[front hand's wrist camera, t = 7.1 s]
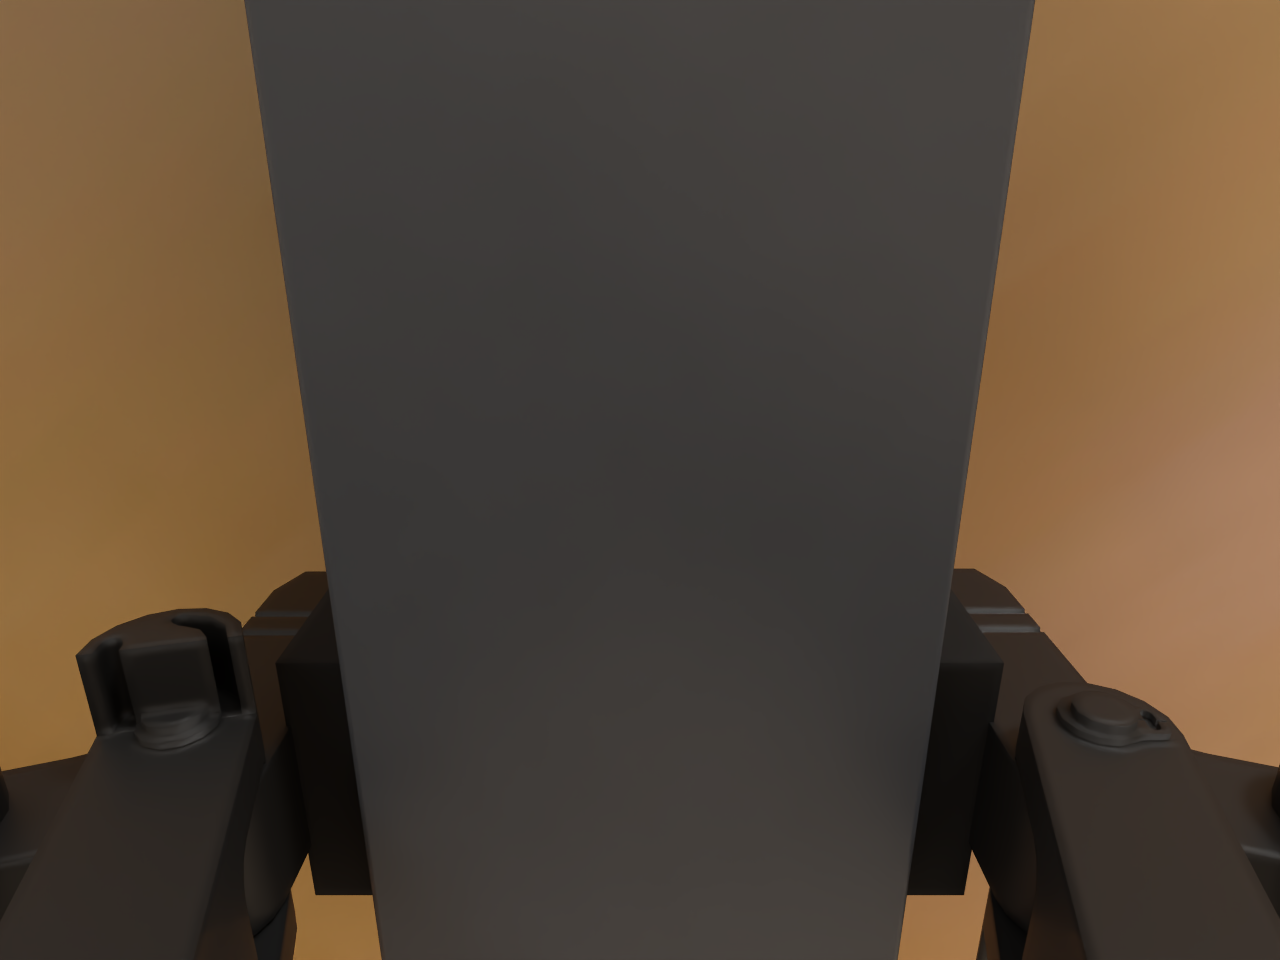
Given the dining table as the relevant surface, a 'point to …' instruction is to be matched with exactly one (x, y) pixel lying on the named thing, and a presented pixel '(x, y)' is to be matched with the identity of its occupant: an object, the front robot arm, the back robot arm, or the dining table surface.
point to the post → (639, 446)
